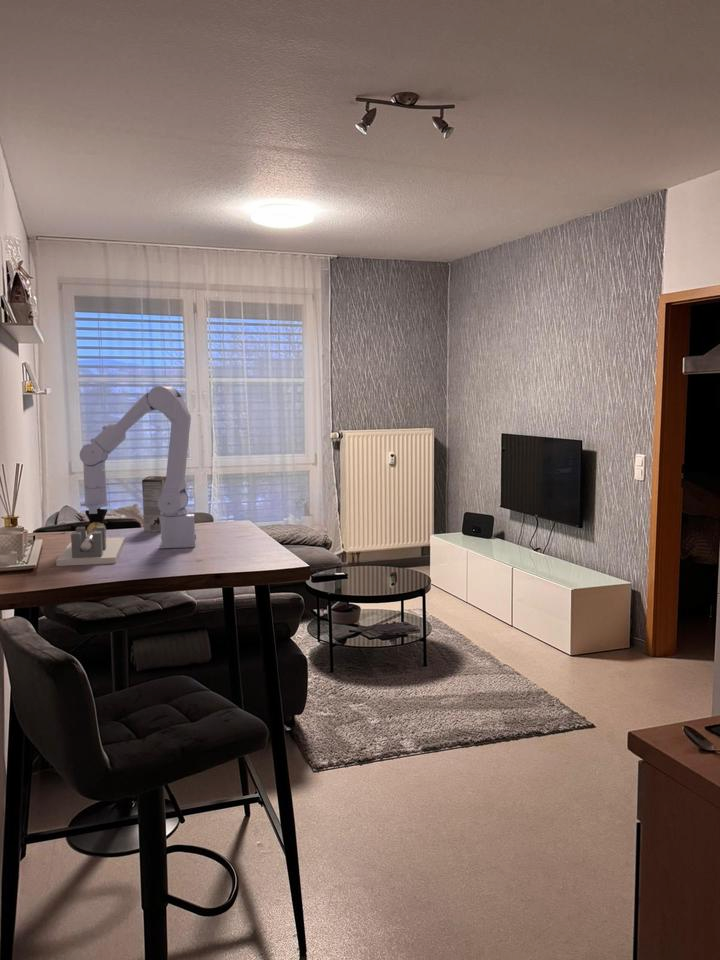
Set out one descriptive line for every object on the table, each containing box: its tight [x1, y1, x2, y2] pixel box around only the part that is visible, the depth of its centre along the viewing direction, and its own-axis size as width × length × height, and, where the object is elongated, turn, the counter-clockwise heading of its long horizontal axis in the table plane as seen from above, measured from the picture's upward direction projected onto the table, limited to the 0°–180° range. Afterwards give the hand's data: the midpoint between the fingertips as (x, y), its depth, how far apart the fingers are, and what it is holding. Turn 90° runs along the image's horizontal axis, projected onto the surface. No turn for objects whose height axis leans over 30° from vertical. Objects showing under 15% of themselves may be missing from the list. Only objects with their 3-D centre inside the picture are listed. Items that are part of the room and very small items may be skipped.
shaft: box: [80, 522, 107, 552], centre depth 203 cm, size 5×23×5 cm, turn 12°
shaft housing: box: [55, 525, 126, 567], centre depth 205 cm, size 14×27×8 cm, turn 12°
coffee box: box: [141, 475, 166, 533], centre depth 240 cm, size 9×6×16 cm
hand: (97, 535), depth 215 cm, fingers closed
